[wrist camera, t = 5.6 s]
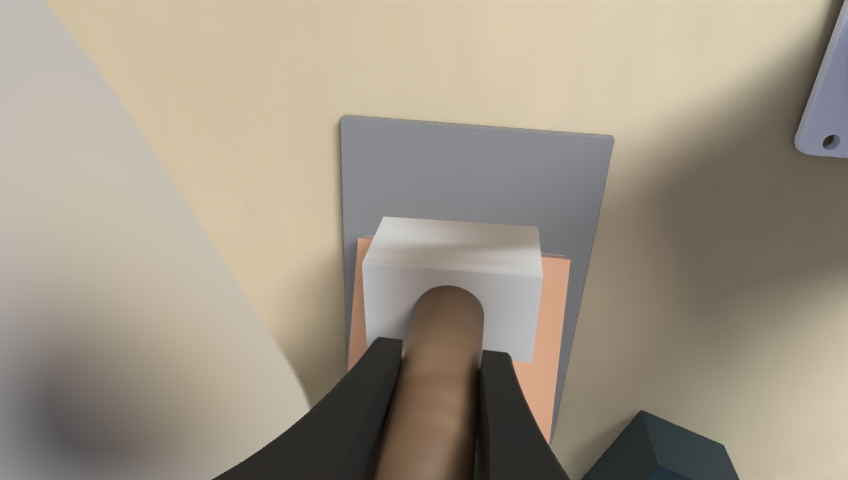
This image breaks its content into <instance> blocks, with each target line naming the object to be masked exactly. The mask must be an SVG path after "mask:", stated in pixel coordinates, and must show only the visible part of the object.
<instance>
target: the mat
mask: <svg viewBox="0 0 848 480" xmlns="http://www.w3.org/2000/svg"><path fill="white" fill-rule="evenodd" d="M340 127H341V164H342V200H343V237H344V274H345V311H346V348H347V370H348V357H349V345H350V332H351V320H352V307H353V295H354V283H355V270H356V258H357V245H358V238H360V237H364V236H367V235H368V236H375V234H376V232H377V230H378V227H379V225H380V223H381V221H382V219H383V217H398V218H414V219H429V220H445V221H460V222H476V223H491V224H507V225H522V226H538V232H539V241H540V251H541V253H547V254H557V255H565V256H566V257H567V258H569V259H570V269H569V278H568V286H567V295H566V304H565V312H564V321H563V330H562V338H561V347H560V355H559V364H558V373H557V381H556V390H555V399H554V407H553V416H552V425H551V433H550V442H549V444H551V443H552V438H553V433H554V428H555V423H556V418H557V414H558V409H559V404H560V399H561V394H562V390H563V385H564V380H565V375H566V370H567V365H568V361H569V356H570V351H571V346H572V341H573V336H574V332H575V327H576V322H577V317H578V312H579V308H580V303H581V298H582V293H583V288H584V283H585V279H586V274H587V269H588V264H589V259H590V255H591V250H592V245H593V240H594V235H595V230H596V226H597V221H598V216H599V211H600V206H601V202H602V197H603V192H604V187H605V182H606V177H607V173H608V168H609V163H610V158H611V153H612V148H613V144H614V138H613V136H611V135H598V134H585V133H572V132H560V131H547V130H534V129H521V128H508V127H495V126H482V125H469V124H456V123H443V122H431V121H418V120H405V119H392V118H379V117H366V116H353V115H343V116H342V117H341V118H340Z"/></svg>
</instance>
